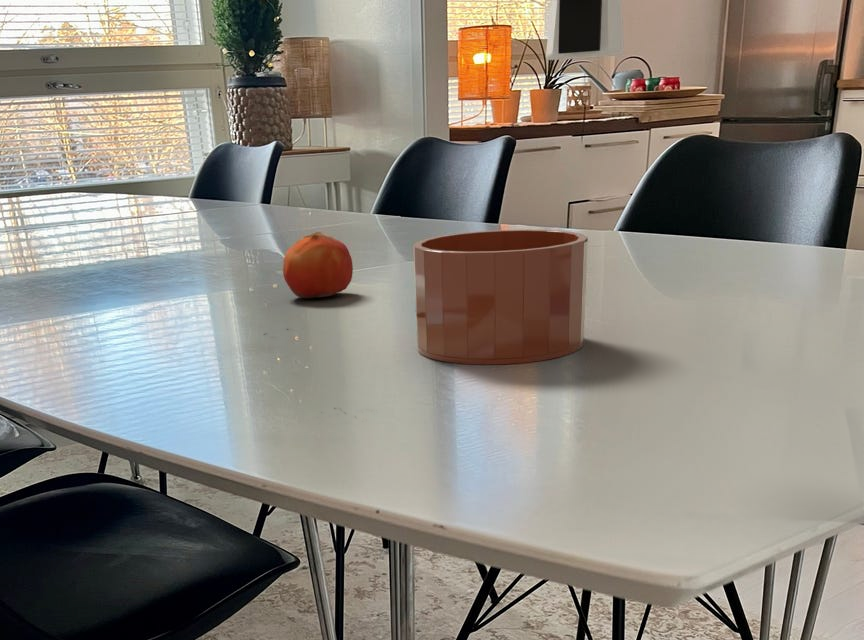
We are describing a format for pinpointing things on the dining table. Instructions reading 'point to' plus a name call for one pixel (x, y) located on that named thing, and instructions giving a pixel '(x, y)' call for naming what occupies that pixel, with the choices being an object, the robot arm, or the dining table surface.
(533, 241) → the crock
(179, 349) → the dining table surface
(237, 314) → the dining table surface
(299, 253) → the tomato
